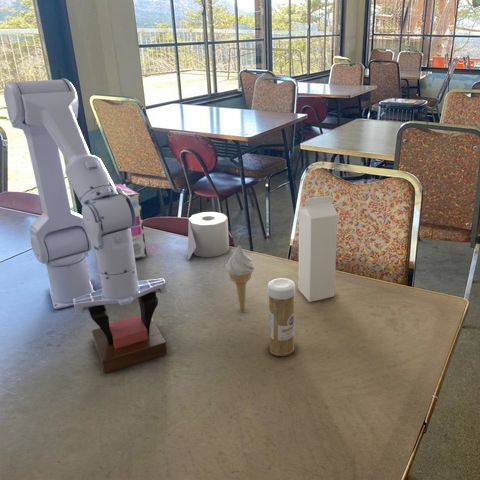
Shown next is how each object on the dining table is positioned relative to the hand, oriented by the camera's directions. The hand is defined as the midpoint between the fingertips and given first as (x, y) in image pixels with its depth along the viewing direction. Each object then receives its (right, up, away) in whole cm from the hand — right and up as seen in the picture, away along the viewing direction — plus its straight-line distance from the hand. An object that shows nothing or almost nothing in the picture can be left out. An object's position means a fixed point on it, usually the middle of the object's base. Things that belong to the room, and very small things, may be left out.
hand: (128, 336), depth 84 cm
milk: (+33, +5, +21) cm, 39 cm away
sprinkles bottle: (+27, -3, +2) cm, 27 cm away
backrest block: (0, -2, +1) cm, 2 cm away
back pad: (0, -2, +1) cm, 2 cm away
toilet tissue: (+5, +14, +39) cm, 41 cm away
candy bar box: (-15, +14, +37) cm, 42 cm away
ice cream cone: (+18, +2, +13) cm, 22 cm away
